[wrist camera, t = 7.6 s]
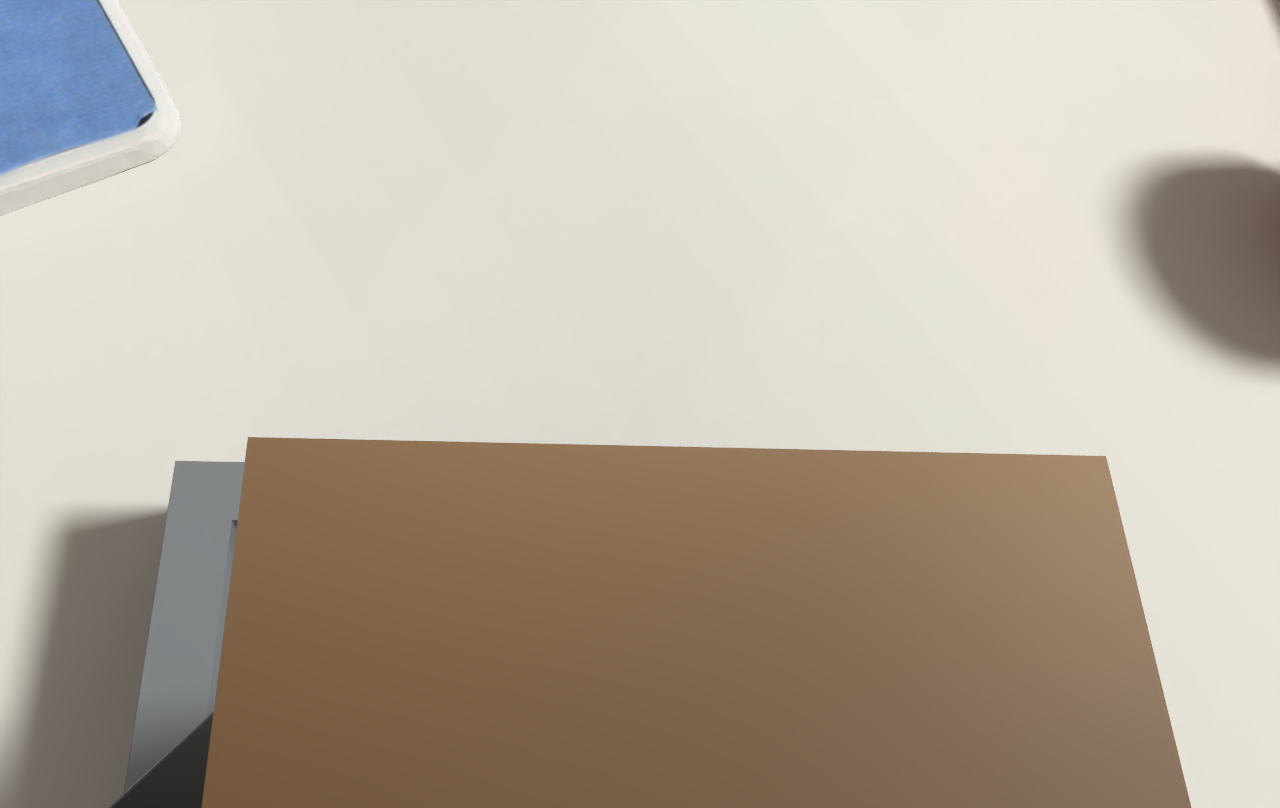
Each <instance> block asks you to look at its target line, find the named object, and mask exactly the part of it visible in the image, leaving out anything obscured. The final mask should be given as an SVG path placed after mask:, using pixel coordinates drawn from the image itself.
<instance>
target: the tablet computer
mask: <svg viewBox="0 0 1280 808" xmlns="http://www.w3.org/2000/svg"><path fill="white" fill-rule="evenodd" d="M180 129H181V119H180V115H179V111H178V107H177V106H176V104H175V102H174V100H173V98H172V96H171V95H170V93H169V91H168V90H167V88H166V86H165V84H164V82H163V80H162V78H161V77H160V75H159V73H158V71H157V69H156V68H155V66H154V64H153V62H152V61H151V59H150V57H149V55H148V54H147V52H146V50H145V48H144V46H143V45H142V43H141V41H140V39H139V37H138V36H137V34H136V32H135V30H134V28H133V27H132V25H131V23H130V21H129V20H128V18H127V16H126V14H125V12H124V11H123V9H122V7H121V5H120V3H119V2H118V0H0V216H1V215H4V214H7V213H10V212H12V211H15V210H18V209H21V208H24V207H26V206H29V205H32V204H35V203H38V202H41V201H43V200H46V199H49V198H52V197H55V196H57V195H60V194H63V193H66V192H69V191H71V190H74V189H77V188H80V187H83V186H86V185H88V184H91V183H94V182H97V181H100V180H102V179H105V178H108V177H110V176H113V175H115V174H118V173H120V172H123V171H125V170H128V169H131V168H133V167H136V166H139V165H142V164H144V163H147V162H150V161H152V160H154V159H156V158H158V157H159V156H161V155H162V154H164V153H165V152H167V151H168V150H169V149H170V148H171V147H172V146H173V145H174V144H175V142H176V141H177V139H178V137H179V134H180Z"/></svg>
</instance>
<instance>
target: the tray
mask: <svg viewBox="0 0 1280 808" xmlns="http://www.w3.org/2000/svg"><path fill="white" fill-rule="evenodd" d="M244 466H245V462H201V461H175V467H174V473H173V480H172V486H171V493H170V499H169V505H168V512H167V518H166V525H165V531H164V538H163V544H162V551H161V557H160V564H159V570H158V577H157V583H156V590H155V596H154V603H153V609H152V615H151V622H150V628H149V635H148V641H147V648H146V654H145V661H144V667H143V674H142V680H141V687H140V693H139V700H138V706H137V713H136V719H135V725H134V732H133V738H132V745H131V751H130V758H129V764H128V771H127V777H126V784H125V790H124V793H125V792H126V791H127V790H128V789H129V788H130V787H131V786H132V785H133V784H134V783H136V782H137V781H138V780H139V779H140V778H141V777H142V776H143V775H144V774H145V773H146V772H148V771H149V770H150V769H151V768H152V767H153V766H154V765H155V764H156V763H157V762H158V761H160V760H161V759H162V758H163V757H164V756H165V755H166V754H167V753H168V752H169V751H170V750H172V749H173V748H174V747H175V746H176V745H177V744H178V743H179V742H180V741H181V740H182V739H184V738H185V737H186V736H187V735H188V734H189V733H190V732H191V731H192V730H193V729H195V728H196V727H197V726H198V725H199V724H200V723H201V722H202V721H203V720H204V719H205V718H207V717H208V716H209V715H210V714H211V713H212V712H213V711H214V705H215V697H216V689H217V681H218V673H219V665H220V657H221V649H222V641H223V633H224V625H225V617H226V609H227V601H228V593H229V585H230V577H231V569H232V561H233V553H234V545H235V537H236V529H237V521H238V513H239V505H240V497H241V489H242V481H243V474H244Z"/></svg>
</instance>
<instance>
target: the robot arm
mask: <svg viewBox="0 0 1280 808" xmlns="http://www.w3.org/2000/svg"><path fill="white" fill-rule="evenodd" d="M213 713H214V711H213V712H212V713H211V714H210V715H209V716H208V717H207V718H205V719H204V720H203V721H202V722H201V723H200V724H199V725H198V726H197V727H196V728H195V729H193V730H192V731H191V732H190V733H189V734H188V735H187V736H186V737H185V738H184V739H182V740H181V741H180V742H179V743H178V744H177V745H176V746H175V747H174V748H173V749H172V750H170V751H169V752H168V753H167V754H166V755H165V756H164V757H163V758H162V759H161V760H160V761H158V762H157V763H156V764H155V765H154V766H153V767H152V768H151V769H150V770H149V771H148V772H146V773H145V774H144V775H143V776H142V777H141V778H140V779H139V780H138V781H137V782H136V783H134V784H133V785H132V786H131V787H130V788H129V789H128V790H127V791H126V792H125V793H123V794H122V795H121V796H120V797H119V798H118V799H117V800H116V801H115V802H114V803H113V804H111V805H110V806H109V807H108V808H202V800H203V792H204V784H205V776H206V768H207V760H208V752H209V744H210V736H211V728H212V721H213Z"/></svg>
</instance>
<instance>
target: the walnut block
mask: <svg viewBox="0 0 1280 808" xmlns="http://www.w3.org/2000/svg"><path fill="white" fill-rule="evenodd" d="M202 808H1191V805H1190V801H1189V796H1188V792H1187V788H1186V784H1185V780H1184V776H1183V772H1182V768H1181V764H1180V759H1179V755H1178V751H1177V747H1176V743H1175V739H1174V735H1173V731H1172V727H1171V722H1170V718H1169V714H1168V710H1167V706H1166V702H1165V698H1164V694H1163V689H1162V685H1161V681H1160V677H1159V673H1158V669H1157V665H1156V661H1155V657H1154V652H1153V648H1152V644H1151V640H1150V636H1149V632H1148V628H1147V624H1146V619H1145V615H1144V611H1143V607H1142V603H1141V599H1140V595H1139V591H1138V587H1137V582H1136V578H1135V574H1134V570H1133V566H1132V562H1131V558H1130V554H1129V550H1128V545H1127V541H1126V537H1125V533H1124V529H1123V525H1122V521H1121V517H1120V512H1119V508H1118V504H1117V500H1116V496H1115V492H1114V488H1113V484H1112V480H1111V475H1110V471H1109V467H1108V463H1107V459H1106V456H1072V455H1026V454H981V453H936V452H890V451H845V450H800V449H755V448H709V447H664V446H619V445H574V444H528V443H483V442H438V441H392V440H347V439H302V438H257V437H248V442H247V450H246V458H245V466H244V474H243V481H242V489H241V497H240V505H239V513H238V521H237V529H236V537H235V545H234V553H233V561H232V569H231V577H230V585H229V593H228V601H227V609H226V617H225V625H224V633H223V641H222V649H221V657H220V665H219V673H218V681H217V689H216V697H215V705H214V713H213V721H212V728H211V736H210V744H209V752H208V760H207V768H206V776H205V784H204V792H203V800H202Z"/></svg>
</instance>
